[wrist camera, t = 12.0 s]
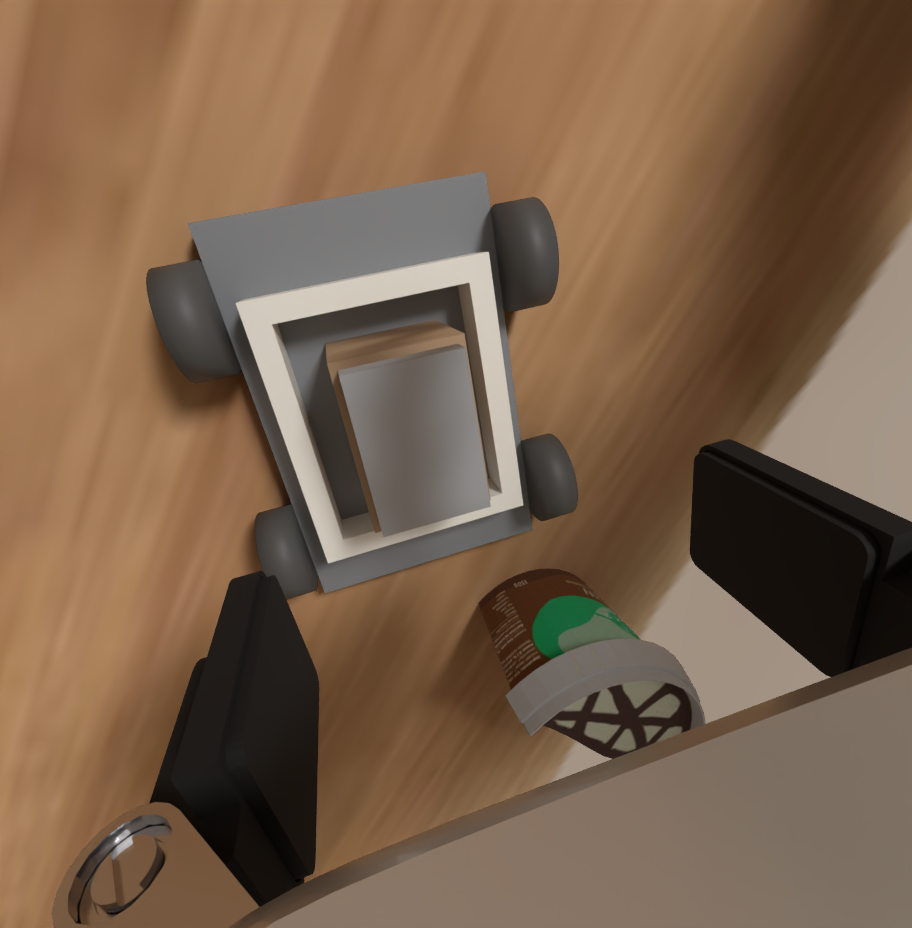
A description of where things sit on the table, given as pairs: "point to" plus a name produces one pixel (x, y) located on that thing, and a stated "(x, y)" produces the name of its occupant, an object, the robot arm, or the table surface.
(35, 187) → the table surface
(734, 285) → the table surface
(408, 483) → the grey block on wood
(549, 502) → the chassis
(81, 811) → the table surface
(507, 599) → the food container
